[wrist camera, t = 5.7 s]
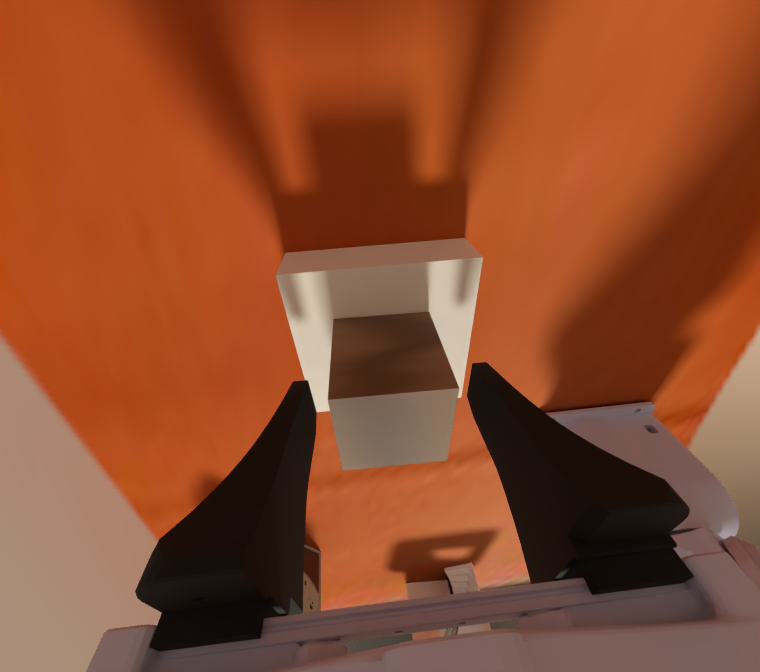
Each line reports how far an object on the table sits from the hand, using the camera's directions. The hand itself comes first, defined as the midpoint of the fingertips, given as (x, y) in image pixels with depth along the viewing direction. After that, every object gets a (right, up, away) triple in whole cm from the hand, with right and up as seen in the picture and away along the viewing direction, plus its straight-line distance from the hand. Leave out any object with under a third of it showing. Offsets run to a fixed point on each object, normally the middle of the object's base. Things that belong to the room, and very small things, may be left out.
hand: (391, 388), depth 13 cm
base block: (0, +3, +5) cm, 6 cm away
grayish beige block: (0, +1, +3) cm, 3 cm away
